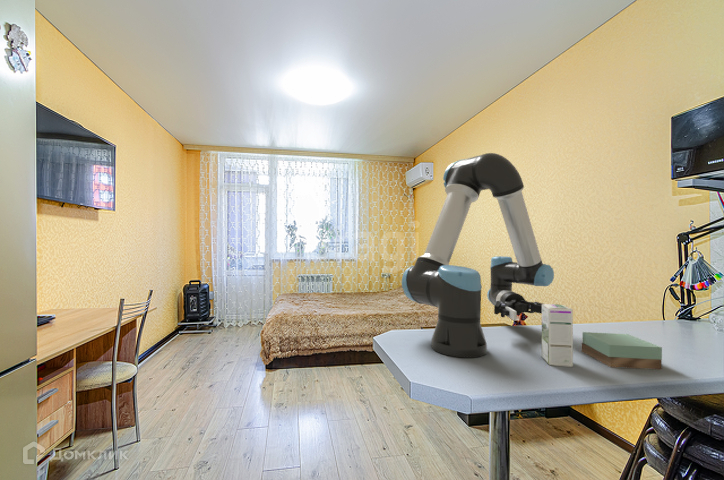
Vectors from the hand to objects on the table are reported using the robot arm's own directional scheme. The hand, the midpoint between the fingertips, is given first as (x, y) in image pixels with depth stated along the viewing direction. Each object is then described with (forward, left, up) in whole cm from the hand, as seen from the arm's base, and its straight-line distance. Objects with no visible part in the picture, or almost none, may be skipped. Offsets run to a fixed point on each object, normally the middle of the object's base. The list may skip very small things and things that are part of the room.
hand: (539, 316), depth 95 cm
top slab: (+18, -6, -7) cm, 20 cm away
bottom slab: (+18, -6, -10) cm, 21 cm away
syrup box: (0, -10, -10) cm, 14 cm away
